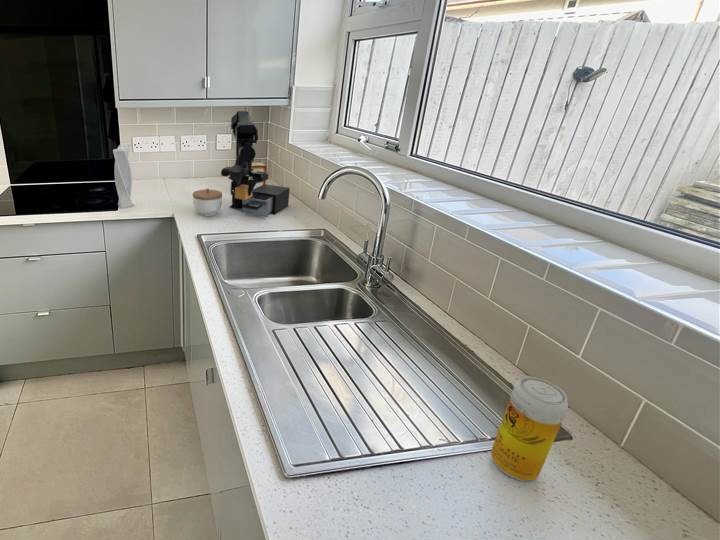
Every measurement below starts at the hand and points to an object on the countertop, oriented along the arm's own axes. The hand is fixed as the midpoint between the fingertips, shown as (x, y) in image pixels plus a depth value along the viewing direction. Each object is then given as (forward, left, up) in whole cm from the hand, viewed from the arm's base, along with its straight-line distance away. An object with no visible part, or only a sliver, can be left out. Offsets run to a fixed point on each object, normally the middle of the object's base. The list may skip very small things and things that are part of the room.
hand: (243, 194), depth 164 cm
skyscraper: (-55, -12, -11) cm, 57 cm away
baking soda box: (-13, +35, -11) cm, 39 cm away
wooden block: (0, 0, -1) cm, 1 cm away
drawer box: (+2, +21, -11) cm, 24 cm away
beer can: (+90, -78, -11) cm, 120 cm away
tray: (+2, +11, -10) cm, 15 cm away
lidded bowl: (-17, -1, -11) cm, 20 cm away
